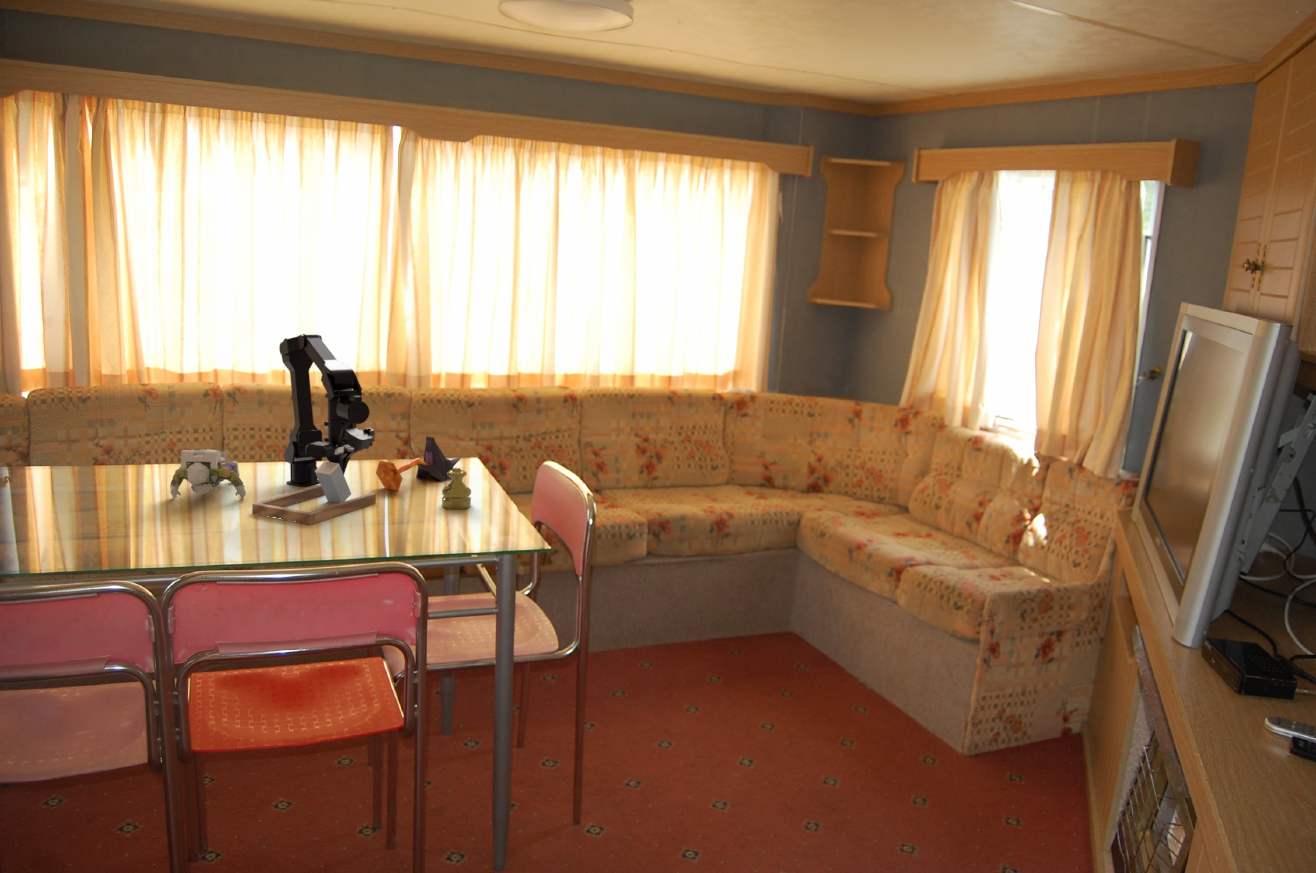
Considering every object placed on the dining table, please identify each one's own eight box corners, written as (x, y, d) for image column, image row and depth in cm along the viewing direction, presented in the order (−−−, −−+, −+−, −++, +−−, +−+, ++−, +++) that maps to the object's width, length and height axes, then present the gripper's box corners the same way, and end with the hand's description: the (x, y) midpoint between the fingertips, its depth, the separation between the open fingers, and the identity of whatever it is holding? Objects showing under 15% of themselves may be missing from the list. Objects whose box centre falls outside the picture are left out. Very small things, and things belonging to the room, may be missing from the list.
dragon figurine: (371, 458, 250) (432, 425, 270) (379, 498, 254) (437, 463, 275) (401, 463, 245) (460, 430, 266) (408, 504, 250) (466, 468, 270)
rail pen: (252, 514, 221) (252, 503, 220) (321, 493, 242) (321, 484, 242) (310, 525, 214) (310, 514, 214) (375, 503, 236) (375, 493, 236)
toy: (190, 496, 247) (153, 501, 217) (191, 449, 247) (154, 448, 217) (261, 496, 250) (233, 501, 221) (262, 450, 250) (234, 449, 221)
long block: (327, 501, 235) (314, 470, 229) (337, 491, 238) (324, 461, 232) (342, 503, 234) (329, 473, 228) (351, 493, 237) (338, 463, 231)
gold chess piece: (455, 500, 243) (456, 463, 241) (477, 506, 239) (477, 468, 237) (435, 506, 237) (436, 468, 235) (457, 511, 233) (457, 473, 231)
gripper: (340, 426, 221) (341, 489, 224) (389, 416, 238) (389, 475, 241) (303, 421, 225) (304, 483, 228) (354, 411, 242) (354, 469, 245)
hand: (340, 477), depth 235 cm, fingers closed
